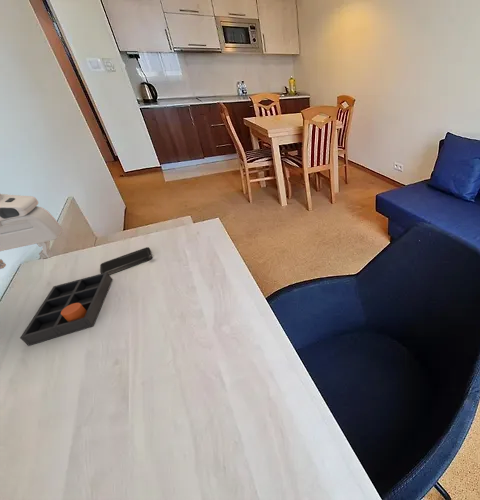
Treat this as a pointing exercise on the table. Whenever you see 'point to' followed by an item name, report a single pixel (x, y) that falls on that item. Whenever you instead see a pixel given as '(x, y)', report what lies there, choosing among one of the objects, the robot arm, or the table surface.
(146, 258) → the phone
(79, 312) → the orange cylinder
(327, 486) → the table surface
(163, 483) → the table surface
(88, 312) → the grid
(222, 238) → the table surface
